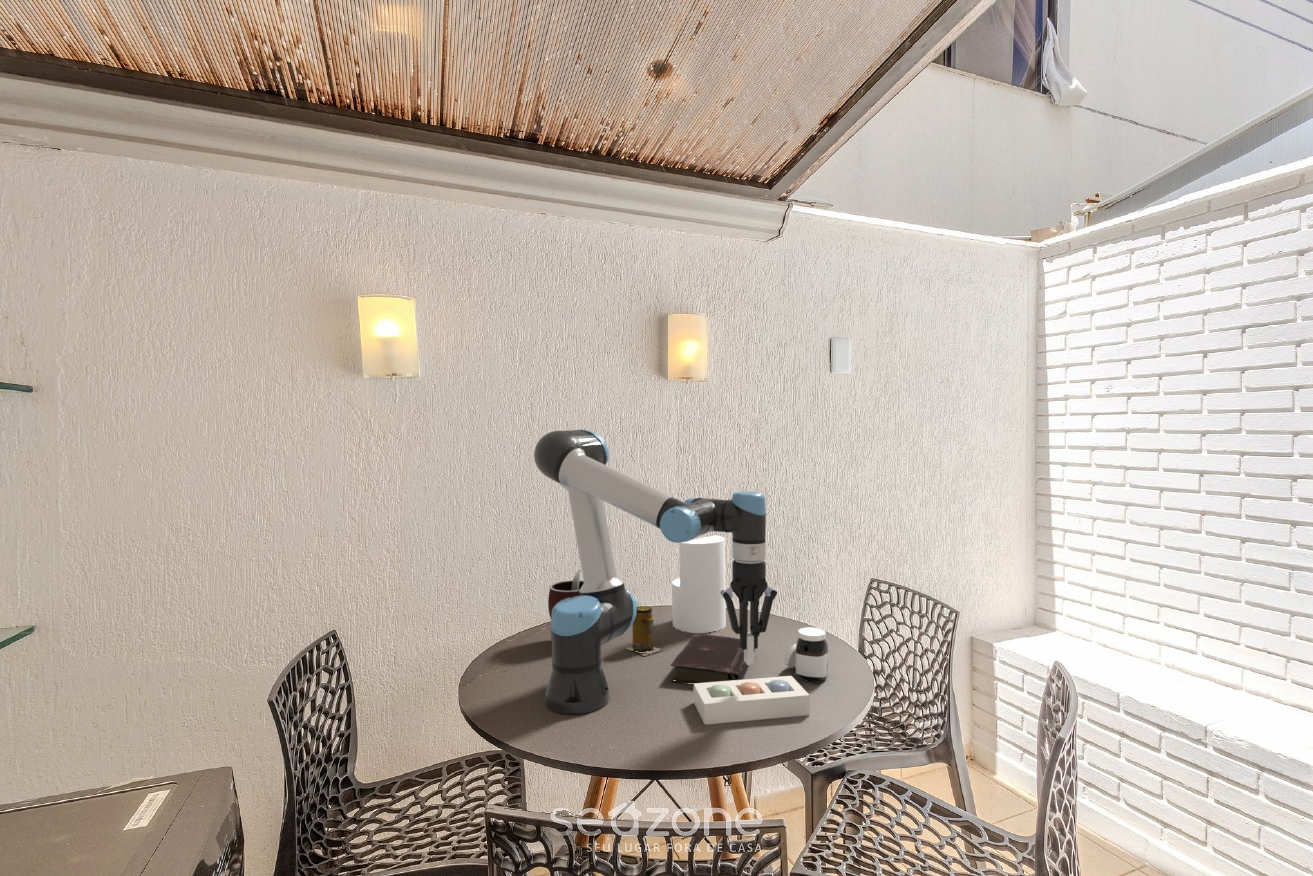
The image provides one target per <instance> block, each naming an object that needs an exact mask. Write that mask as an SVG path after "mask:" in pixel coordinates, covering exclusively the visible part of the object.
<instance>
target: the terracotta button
mask: <svg viewBox="0 0 1313 876" xmlns="http://www.w3.org/2000/svg"><path fill="white" fill-rule="evenodd" d="M740 693H741V694H742V695H750V694H760V686H759V685H758V684H757V683H753V682H745V683H742V684H741V685H740Z"/></svg>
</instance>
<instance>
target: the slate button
mask: <svg viewBox="0 0 1313 876" xmlns="http://www.w3.org/2000/svg"><path fill="white" fill-rule="evenodd" d="M770 691H771V692H772V693H774V692H786V691H789V683H788V682H786V681H783V680H773V681H771V682H770Z"/></svg>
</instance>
